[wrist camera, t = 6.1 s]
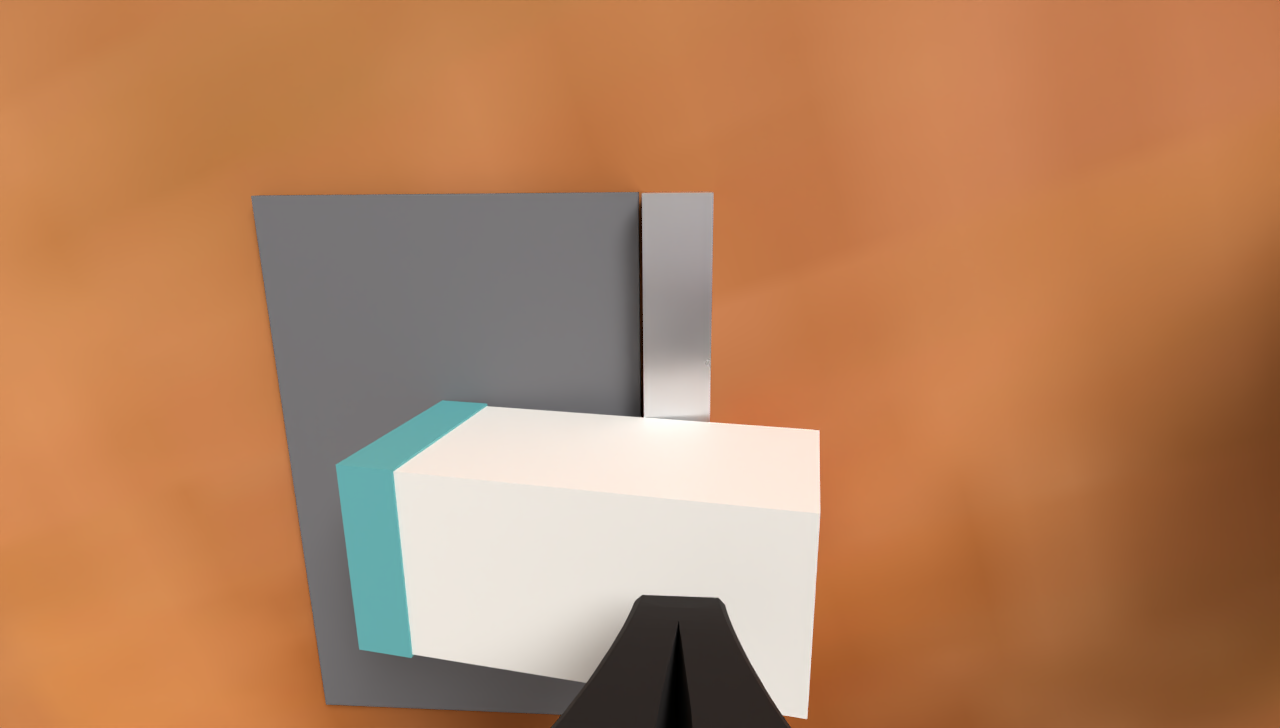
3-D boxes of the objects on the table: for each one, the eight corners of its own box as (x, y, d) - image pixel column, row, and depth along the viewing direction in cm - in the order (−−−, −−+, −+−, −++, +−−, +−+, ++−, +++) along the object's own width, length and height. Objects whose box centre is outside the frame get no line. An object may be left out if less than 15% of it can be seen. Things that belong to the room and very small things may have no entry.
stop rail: (711, 191, 16) (713, 192, 15) (703, 712, 20) (704, 746, 18) (645, 192, 16) (641, 193, 15) (649, 710, 20) (646, 743, 18)
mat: (638, 192, 16) (637, 192, 16) (644, 709, 20) (643, 717, 19) (258, 195, 17) (251, 196, 16) (331, 696, 20) (326, 704, 20)
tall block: (820, 512, 11) (335, 464, 13) (806, 723, 12) (359, 649, 15) (819, 427, 15) (442, 400, 17) (809, 594, 16) (454, 550, 18)
